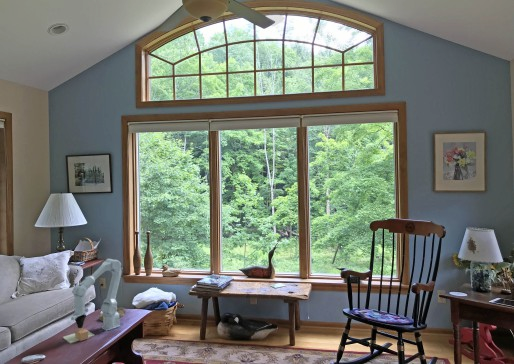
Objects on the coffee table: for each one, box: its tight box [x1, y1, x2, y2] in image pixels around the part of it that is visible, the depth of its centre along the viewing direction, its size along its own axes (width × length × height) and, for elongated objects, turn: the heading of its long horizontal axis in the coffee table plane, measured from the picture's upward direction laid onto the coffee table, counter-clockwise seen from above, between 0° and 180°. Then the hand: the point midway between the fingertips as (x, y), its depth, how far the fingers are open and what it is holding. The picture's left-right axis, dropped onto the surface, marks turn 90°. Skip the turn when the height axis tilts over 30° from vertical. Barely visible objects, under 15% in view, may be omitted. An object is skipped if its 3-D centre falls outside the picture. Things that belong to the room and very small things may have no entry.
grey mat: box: [62, 330, 95, 344], centre depth 227 cm, size 14×12×1 cm
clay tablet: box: [98, 306, 126, 322], centre depth 260 cm, size 14×5×20 cm
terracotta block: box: [74, 327, 89, 342], centre depth 224 cm, size 4×4×8 cm
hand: (80, 327), depth 225 cm, fingers closed
